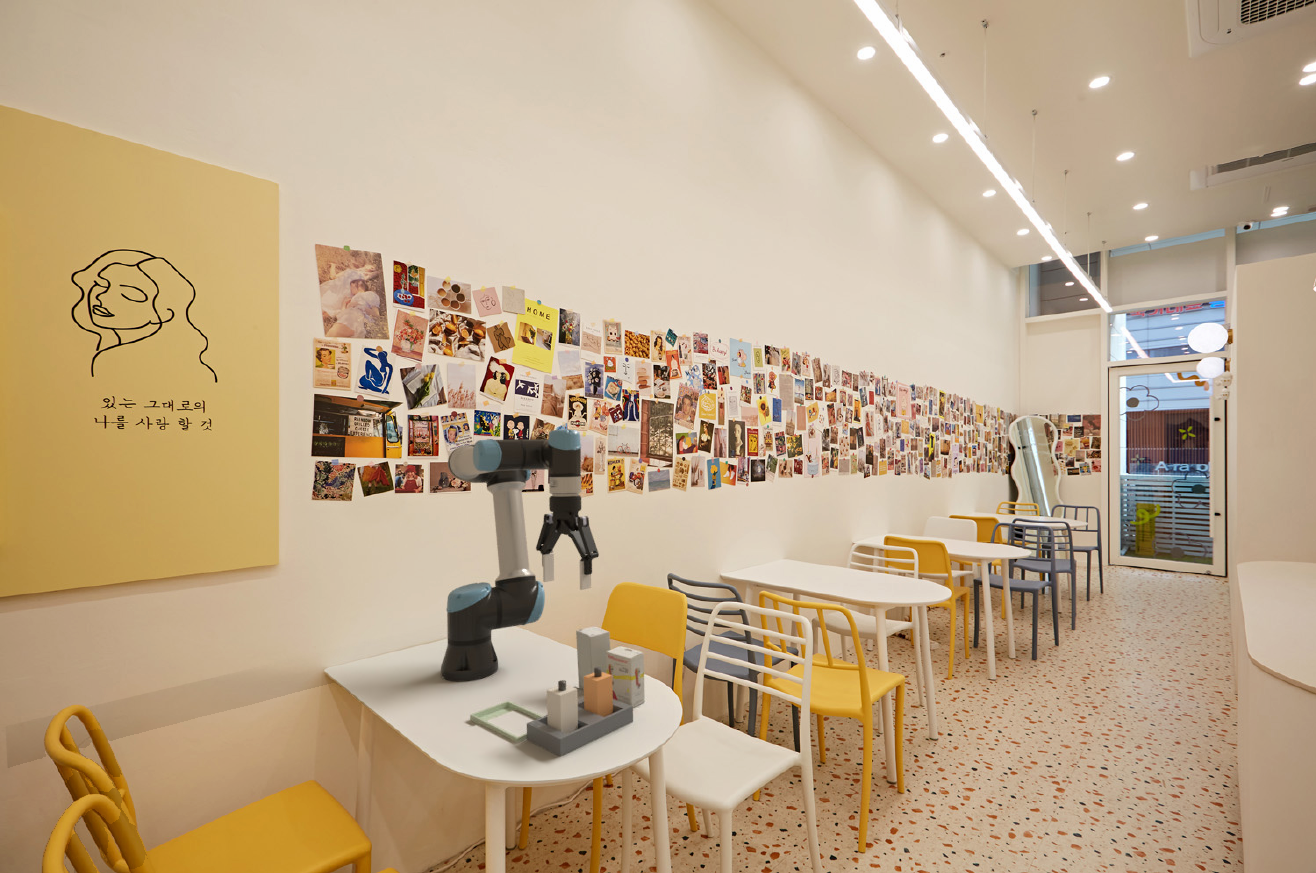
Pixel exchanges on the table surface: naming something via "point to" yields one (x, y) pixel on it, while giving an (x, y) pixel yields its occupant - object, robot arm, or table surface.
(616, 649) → the ink box
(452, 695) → the table surface
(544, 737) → the grey two-slot holder
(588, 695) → the orange knobbed block
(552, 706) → the white knobbed peg block
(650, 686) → the table surface
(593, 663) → the skincare box
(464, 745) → the table surface
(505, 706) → the tray
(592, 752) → the table surface
